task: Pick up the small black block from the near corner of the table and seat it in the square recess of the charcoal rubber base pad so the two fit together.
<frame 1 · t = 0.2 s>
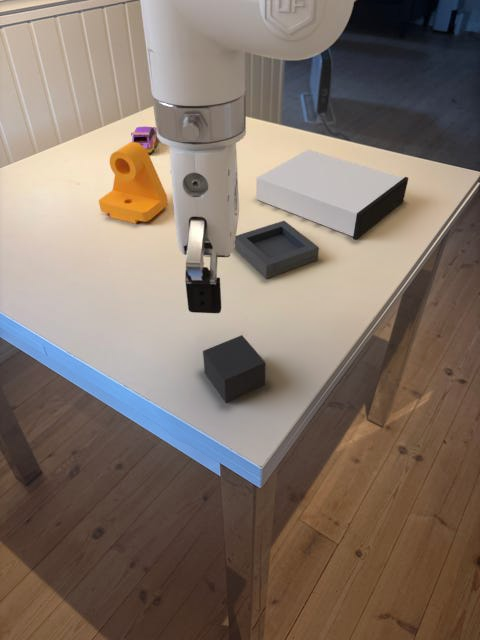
hand: (211, 281, 52), 14 cm above the table, tool pointing down, fingers open, 9 cm apart
disc drive: (329, 202, 95), on the table
bracket: (134, 212, 93), on the table
toy car: (145, 146, 117), on the table
base pad: (275, 254, 81), on the table
black block: (234, 379, 60), on the table
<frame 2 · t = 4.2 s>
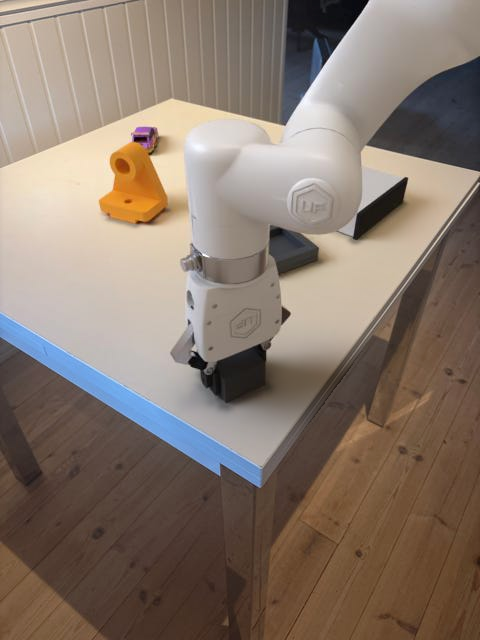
hand: (234, 376, 60), 1 cm above the table, tool pointing down, fingers closed on black block, 5 cm apart
black block: (234, 379, 60), on the table, touching gripper
everything else where it was.
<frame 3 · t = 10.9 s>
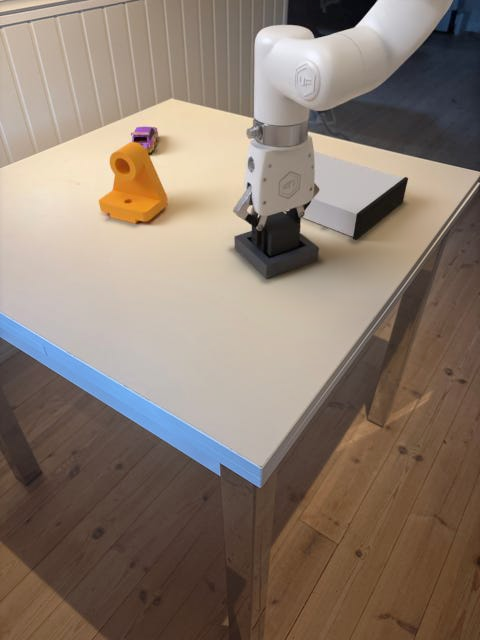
hand: (275, 240, 79), 3 cm above the table, tool pointing down, fingers closed on black block, 5 cm apart
black block: (275, 243, 80), point 2 cm above the table, touching gripper
everything else where it was.
when the fingers open (3 cm above the table, at t = 14.2 s): black block drops 1 cm, resting on base pad.
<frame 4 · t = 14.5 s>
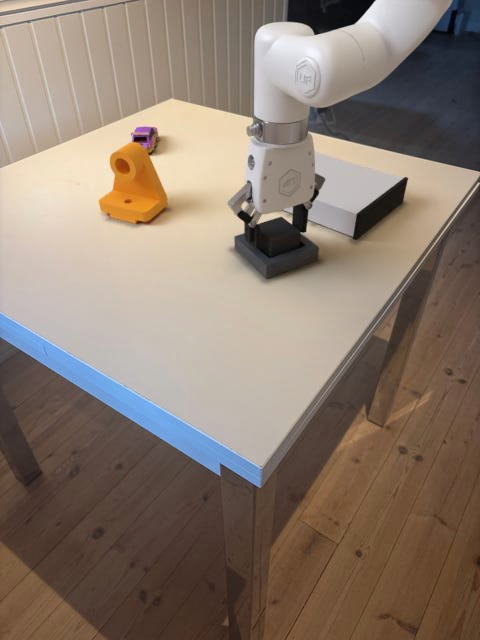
hand: (276, 236, 79), 4 cm above the table, tool pointing down, fingers open, 8 cm apart
black block: (275, 249, 80), point 1 cm above the table, touching base pad
everything else where it was.
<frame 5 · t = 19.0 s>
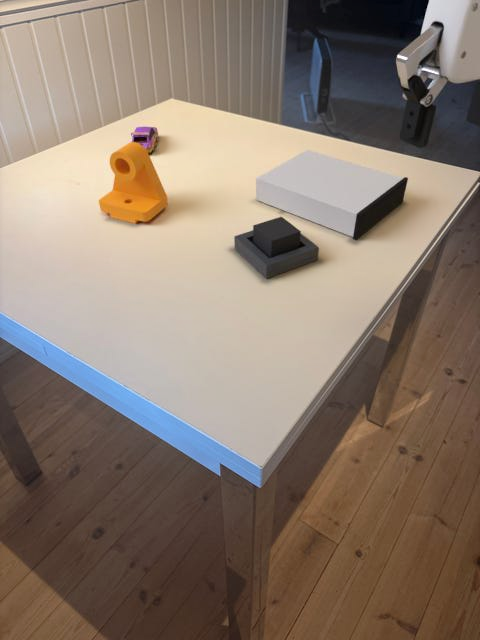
hand: (446, 133, 50), 26 cm above the table, tool pointing down, fingers open, 9 cm apart
nothing on the table moved.
at the end: black block 0.0 cm off-centre in the base pad, point 1.0 cm above the base pad's base; black block tilted 0°; the gripper is holding nothing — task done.
